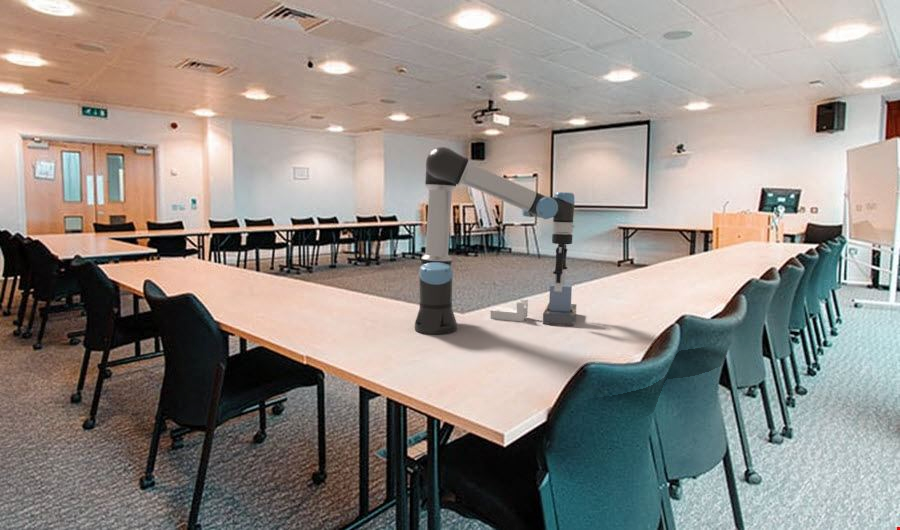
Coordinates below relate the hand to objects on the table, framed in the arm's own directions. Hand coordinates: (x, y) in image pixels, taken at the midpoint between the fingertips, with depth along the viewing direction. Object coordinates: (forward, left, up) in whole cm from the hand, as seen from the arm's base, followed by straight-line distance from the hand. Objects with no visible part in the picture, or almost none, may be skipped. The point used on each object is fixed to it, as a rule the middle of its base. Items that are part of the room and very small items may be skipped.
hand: (559, 288), depth 206 cm
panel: (0, 0, -12) cm, 12 cm away
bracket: (-19, -2, -13) cm, 23 cm away
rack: (0, +3, -12) cm, 13 cm away
